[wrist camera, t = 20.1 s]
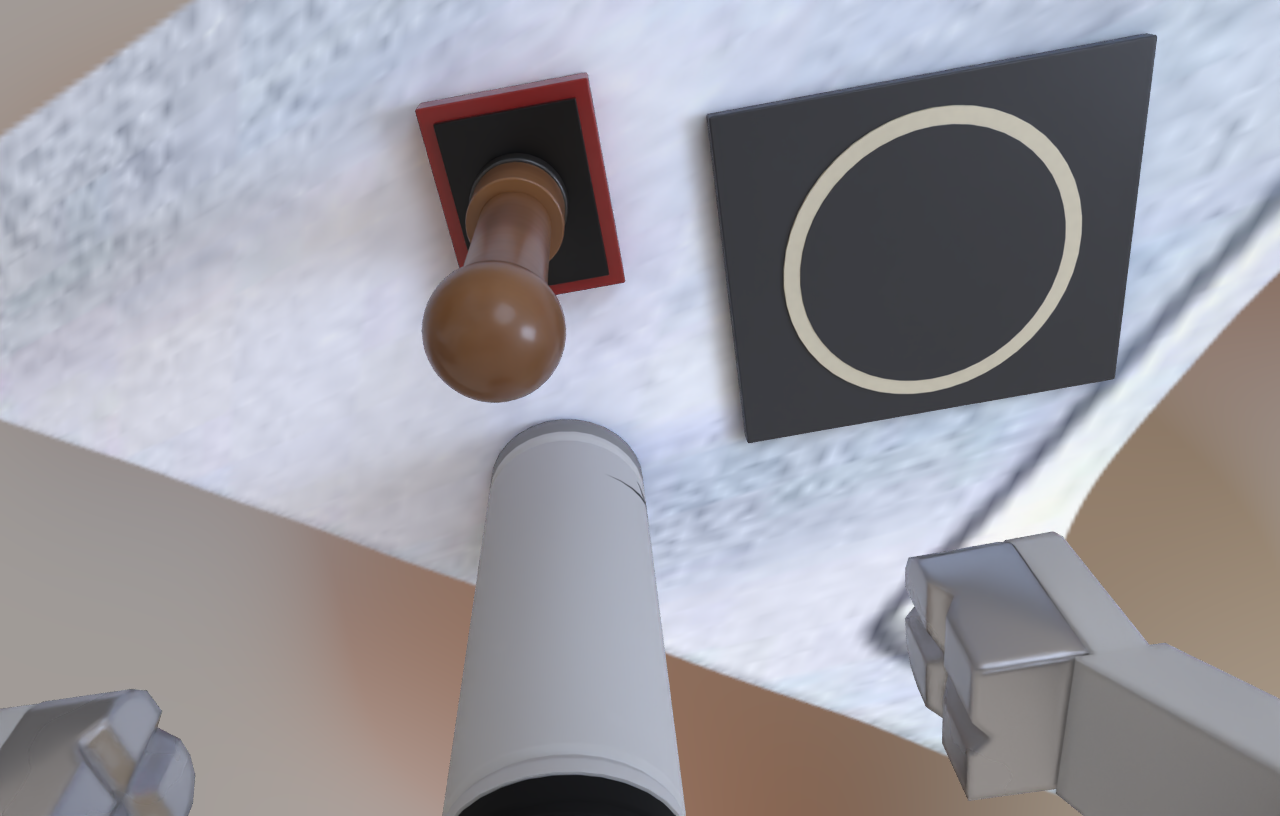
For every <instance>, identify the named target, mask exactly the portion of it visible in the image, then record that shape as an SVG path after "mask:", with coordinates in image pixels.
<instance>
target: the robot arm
mask: <svg viewBox="0 0 1280 816" xmlns="http://www.w3.org/2000/svg"><path fill="white" fill-rule="evenodd" d="M905 587H906V589H907V591H908V594H909V596H910V598H911V600H912V602H913V604H914V606H915V607H914V608H913V609H912V610H911V612H910V613H909V614H908V615H907V617H906V618H905V625H906V644H907V649H908V654H909V660H910V665H911V669H912V672H913V675H914V678H915V681H916V684H917V687H918V689H919V692H920V694H921V696H922V699H923V701H924V703H925V706H926V707H927V708H928V709H930V710H931V711H933V712H934V713H936V714H937V715H939V716H940V717H942V718H943V727H942V744H943V746H944V748H945V750H946V753H947V755H948V757H949V759H950V761H951V763H952V766H953V768H954V770H955V772H956V775H957V777H958V779H959V781H960V783H961V785H962V788H963V790H964V792H965V794H966V797H967V798H968V800H969V801H970V800H977V799H985V798H993V797H1000V796H1008V795H1014V794H1023V793H1030V792H1037V791H1045V790H1052V789H1056V794H1057V795H1058V796H1060V797H1061V798H1062V799H1063V800H1065V801H1066V802H1067V803H1068V804H1070V805H1071V806H1072V807H1073V808H1075V809H1076V810H1077V811H1078V812H1080V813H1081V814H1082V815H1083V816H1280V699H1279V698H1277V697H1275V696H1273V695H1271V694H1269V693H1267V692H1265V691H1262V690H1261V689H1258V688H1256V687H1254V686H1252V685H1250V684H1248V683H1246V682H1244V681H1242V680H1240V679H1238V678H1236V677H1234V676H1232V675H1230V674H1228V673H1226V672H1224V671H1222V670H1220V669H1218V668H1215V667H1214V666H1212V665H1209V664H1207V663H1205V662H1203V661H1201V660H1199V659H1197V658H1195V657H1193V656H1191V655H1189V654H1187V653H1185V652H1183V651H1181V650H1179V649H1177V648H1175V647H1173V646H1170V645H1169V644H1167V643H1161V644H1153V645H1149V644H1148V643H1147V641H1146V640H1145V639H1144V638H1143V636H1142V635H1141V634H1140V633H1139V631H1138V630H1137V629H1136V628H1135V626H1134V625H1133V624H1132V623H1131V621H1130V620H1129V619H1128V618H1127V616H1126V615H1125V614H1124V613H1123V611H1122V610H1121V609H1120V608H1119V606H1118V605H1117V604H1116V603H1115V601H1114V600H1113V599H1112V598H1111V596H1110V595H1109V594H1108V593H1107V591H1106V590H1105V589H1104V588H1103V586H1102V585H1101V584H1100V583H1099V581H1098V580H1097V579H1096V578H1095V576H1094V575H1093V574H1092V573H1091V572H1090V570H1089V569H1088V568H1087V566H1086V565H1085V564H1084V563H1083V561H1082V560H1081V559H1080V558H1079V556H1078V555H1077V554H1076V553H1075V551H1074V550H1073V549H1072V547H1071V546H1070V545H1069V544H1068V542H1067V541H1066V540H1065V539H1064V537H1063V536H1061V535H1059V534H1057V533H1055V532H1047V533H1042V534H1036V535H1031V536H1026V537H1020V538H1015V539H1009V540H1005V541H1004V542H995V543H990V544H984V545H978V546H973V547H967V548H961V549H956V550H950V551H944V552H939V553H933V554H927V555H922V556H916V557H911V558H908V561H907V565H906V568H905ZM161 714H162V710H161V709H160V708H159V706H158V705H157V703H156V702H155V701H154V699H153V698H152V697H151V695H150V694H149V693H148V691H147V690H135V689H129V690H121V691H114V692H107V693H101V694H95V695H87V696H80V697H73V698H66V699H59V700H52V701H45V702H42V703H39V704H33V705H25V706H17V707H10V708H3V709H0V816H188V814H189V812H190V809H191V807H192V804H193V796H194V783H195V772H194V768H193V764H192V761H191V757H190V754H189V752H188V751H187V749H186V747H185V746H184V744H183V743H182V741H181V739H179V738H177V737H175V736H173V735H171V734H169V733H167V732H165V731H163V730H161V729H160V728H158V723H159V720H160V717H161Z"/></svg>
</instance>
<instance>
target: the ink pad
mask: <svg viewBox="0 0 1280 816" xmlns="http://www.w3.org/2000/svg"><path fill="white" fill-rule="evenodd" d="M415 112H416V116H417V119H418V123H419V127H420V130H421V134H422V137H423V141H424V144H425V148H426V151H427V155H428V158H429V162H430V165H431V169H432V173H433V176H434V180H435V183H436V187H437V190H438V194H439V197H440V201H441V204H442V208H443V211H444V215H445V219H446V222H447V226H448V229H449V233H450V236H451V240H452V243H453V247H454V250H455V254H456V258H457V261H458V265H459V268H461V267H463V266H464V263H465V260H466V256H467V253H468V250H469V247H470V242H469V239H468V236H467V232H466V224H465V221H466V213H467V209H468V206H469V197H470V192H471V189H472V186H473V184H474V181H475V179H476V177H477V175H478V173H479V172H480V171H481V169H482V168H483V167H484V166H485V165H486V164H488V163H489V162H490V161H492V160H493V159H495V158H497V157H500V156H502V155H506V154H512V153H523V154H529V155H532V156H535V157H538V158H540V159H542V160H543V161H545V162H547V163H548V164H549V165H550V166H552V167H553V168H554V169H555V170H556V172H557V173H558V174H559V176H560V177H561V179H562V181H563V183H564V185H565V187H566V191H567V195H568V216H567V220H566V224H565V229H564V237H563V240H562V243H561V246H560V248H559V250H558V251H557V253H556V254H555V255H554V257H553V258H552V259H551V260H550V261H549V270H548V286H549V287H550V288H551V289H552V291H553V292H554V294H555V295H558V294H563V293H569V292H574V291H580V290H586V289H591V288H597V287H602V286H608V285H613V284H619V283H624V282H625V277H624V270H623V264H622V259H621V253H620V248H619V243H618V237H617V232H616V226H615V221H614V215H613V210H612V204H611V199H610V193H609V188H608V182H607V177H606V171H605V166H604V161H603V155H602V150H601V144H600V139H599V133H598V128H597V122H596V117H595V111H594V106H593V100H592V95H591V89H590V84H589V78H588V74H587V73H580V74H575V75H570V76H564V77H559V78H553V79H548V80H543V81H537V82H532V83H526V84H521V85H516V86H510V87H505V88H499V89H494V90H489V91H483V92H478V93H472V94H467V95H462V96H456V97H451V98H445V99H440V100H435V101H429V102H424V103H421V104H420V105H419V106H418V107H417V108H416V110H415Z"/></svg>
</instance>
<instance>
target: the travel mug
mask: <svg viewBox="0 0 1280 816" xmlns="http://www.w3.org/2000/svg"><path fill="white" fill-rule="evenodd" d="M685 814H686V813H685V805H684V797H683V789H682V782H681V774H680V766H679V758H678V750H677V742H676V734H675V727H674V719H673V711H672V703H671V695H670V688H669V680H668V672H667V665H666V656H665V649H664V641H663V633H662V625H661V617H660V610H659V602H658V594H657V586H656V578H655V570H654V563H653V555H652V547H651V539H650V531H649V524H648V516H647V508H646V501H645V492H644V485H643V477H642V472H641V466H640V464H639V462H638V459H637V457H636V455H635V453H634V452H633V451H632V449H631V448H630V447H629V445H628V444H627V443H626V442H625V441H624V440H623V439H621V438H620V437H619V436H618V435H617V434H615V433H613V432H612V431H610V430H608V429H607V428H605V427H602V426H599V425H597V424H594V423H591V422H586V421H580V420H555V421H549V422H544V423H541V424H538V425H536V426H533V427H530V428H529V429H527V430H525V431H523V432H522V433H520V434H518V435H517V436H516V437H515V438H514V439H512V440H511V441H510V442H509V443H508V444H507V445H506V446H505V448H504V449H503V450H502V452H501V453H500V454H499V456H498V459H497V461H496V463H495V465H494V469H493V474H492V480H491V486H490V493H489V501H488V507H487V514H486V521H485V527H484V534H483V541H482V548H481V555H480V561H479V568H478V575H477V582H476V589H475V596H474V603H473V609H472V616H471V623H470V630H469V637H468V644H467V651H466V657H465V664H464V671H463V678H462V685H461V692H460V698H459V705H458V712H457V719H456V725H455V732H454V739H453V746H452V753H451V760H450V767H449V773H448V780H447V787H446V794H445V801H444V807H443V814H442V816H685Z"/></svg>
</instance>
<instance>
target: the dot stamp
mask: <svg viewBox="0 0 1280 816" xmlns="http://www.w3.org/2000/svg"><path fill="white" fill-rule="evenodd" d="M567 216H568V195H567V191H566V187H565V185H564V183H563V181H562V179H561V177H560V176H559V174H558V173H557V172H556V170H555V169H554V168H553V167H552V166H550V165H549V164H548V163H547V162H545V161H543V160H542V159H540V158H538V157H535V156H532V155H529V154H523V153H512V154H506V155H502V156H500V157H497V158H495V159H493V160H492V161H490V162H489V163H488V164H486V165H485V166H484V167H483V168H482V169H481V171H480V172H479V173H478V175H477V177H476V179H475V181H474V184H473V186H472V189H471V192H470V197H469V206H468V209H467V213H466V221H465V224H466V232H467V236H468V239H469V242H470V247H469V250H468V253H467V256H466V260H465V263H464V266H463V267H461V268H459V269H457V270H455V271H454V272H452V273H451V274H450V275H448V276H447V277H446V278H445V279H444V280H443V281H442V282H441V283H440V284H439V285H438V286H437V288H436V289H435V290H434V292H433V293H432V295H431V297H430V299H429V301H428V303H427V305H426V308H425V312H424V316H423V321H422V338H423V345H424V349H425V353H426V355H427V358H428V360H429V362H430V364H431V366H432V367H433V369H434V371H435V372H436V373H437V375H438V376H439V377H440V378H441V379H442V380H443V381H444V382H445V383H446V384H447V385H448V386H449V387H451V388H452V389H453V390H455V391H457V392H458V393H460V394H462V395H464V396H466V397H468V398H471V399H474V400H478V401H482V402H491V403H499V402H507V401H512V400H516V399H519V398H521V397H524V396H526V395H528V394H530V393H532V392H533V391H535V390H536V389H538V388H539V387H540V386H541V385H542V384H544V383H545V382H546V381H547V380H548V379H549V377H550V376H551V375H552V374H553V372H554V371H555V369H556V367H557V366H558V364H559V362H560V359H561V357H562V354H563V351H564V347H565V340H566V325H565V318H564V314H563V310H562V307H561V305H560V303H559V301H558V299H557V297H556V295H555V294H554V292H553V291H552V289H551V288H550V287H549V286H548V270H549V261H550V260H551V259H552V258H553V257H554V255H555V254H556V253H557V251H558V250H559V248H560V246H561V243H562V240H563V237H564V229H565V224H566V220H567Z"/></svg>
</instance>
